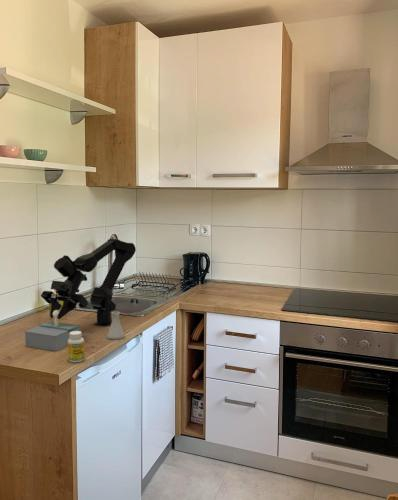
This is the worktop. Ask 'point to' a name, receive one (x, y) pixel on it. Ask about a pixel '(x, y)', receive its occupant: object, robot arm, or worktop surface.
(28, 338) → the carton
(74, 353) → the supplement bottle
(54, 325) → the near flap
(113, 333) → the flask
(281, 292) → the worktop surface
